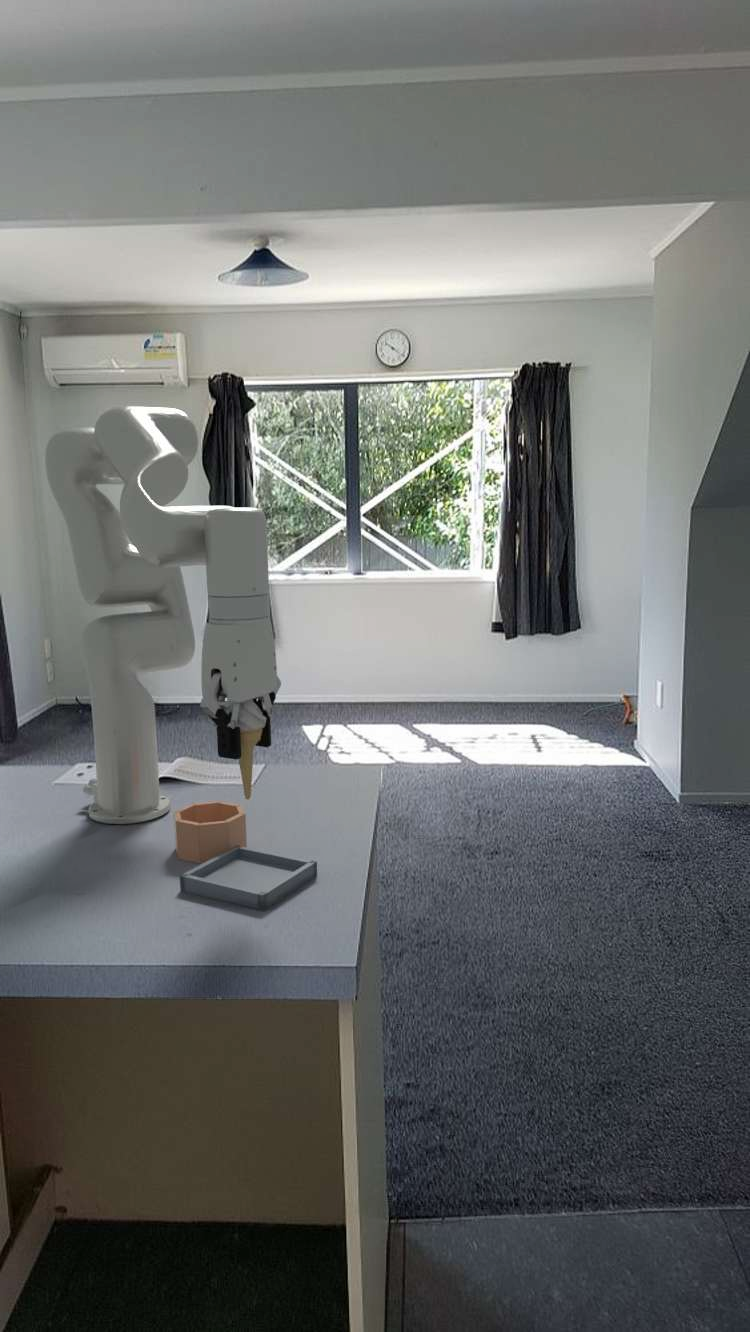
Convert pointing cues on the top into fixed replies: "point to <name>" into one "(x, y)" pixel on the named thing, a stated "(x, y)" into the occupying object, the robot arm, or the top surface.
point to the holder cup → (208, 830)
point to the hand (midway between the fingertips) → (245, 750)
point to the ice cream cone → (248, 739)
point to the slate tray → (249, 877)
